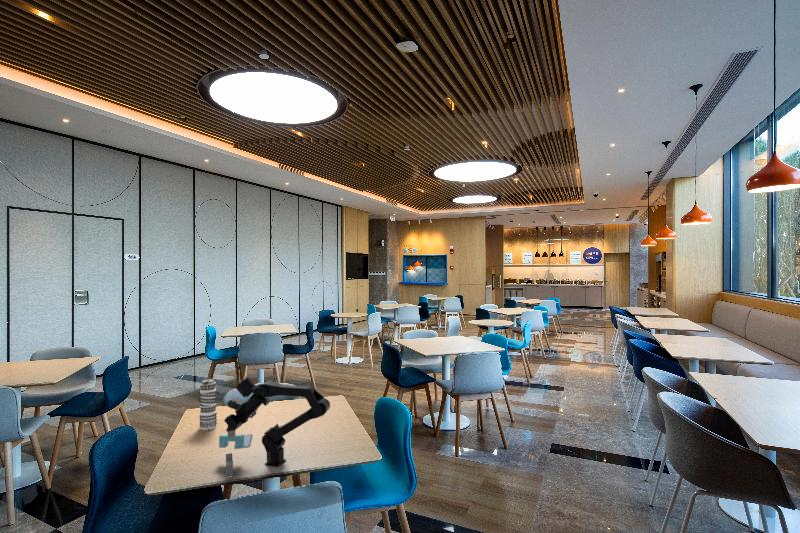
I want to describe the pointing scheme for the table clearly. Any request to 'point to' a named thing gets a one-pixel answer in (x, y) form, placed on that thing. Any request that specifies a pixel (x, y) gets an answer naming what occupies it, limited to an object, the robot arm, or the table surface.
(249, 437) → the smartphone
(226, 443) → the blue brown t-shaped block
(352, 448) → the table surface
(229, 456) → the slotted bar
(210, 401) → the decorative candle
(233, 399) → the robot arm
